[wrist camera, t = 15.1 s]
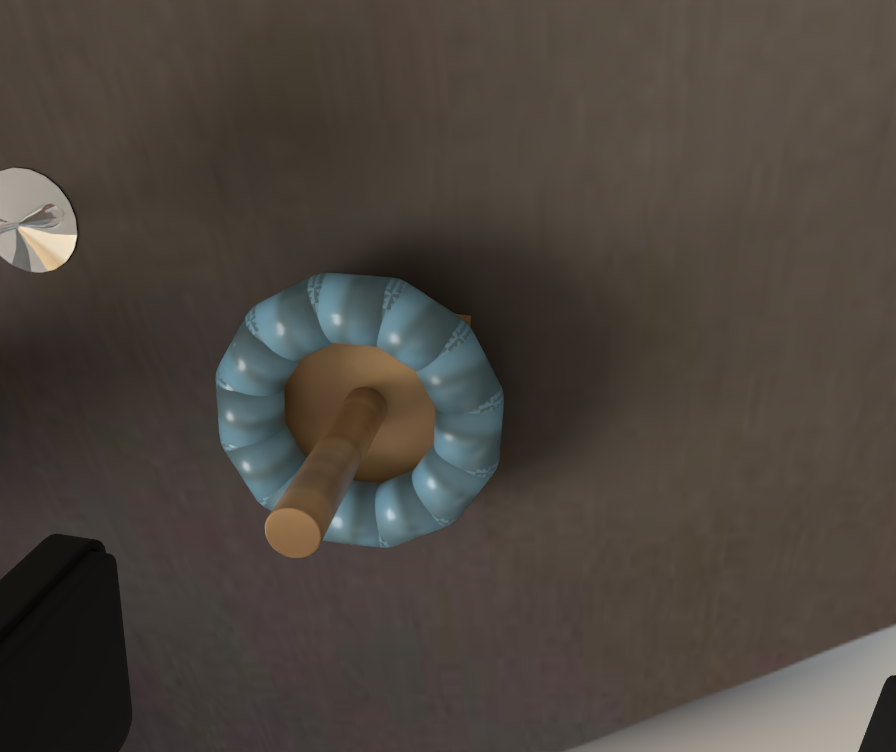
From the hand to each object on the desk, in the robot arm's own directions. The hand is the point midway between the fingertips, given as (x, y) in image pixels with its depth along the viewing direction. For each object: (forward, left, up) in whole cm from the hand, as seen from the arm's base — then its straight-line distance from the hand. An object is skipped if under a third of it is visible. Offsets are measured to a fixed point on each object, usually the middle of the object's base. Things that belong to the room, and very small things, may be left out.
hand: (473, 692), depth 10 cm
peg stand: (+8, -7, -27) cm, 29 cm away
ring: (+8, -7, -24) cm, 26 cm away
